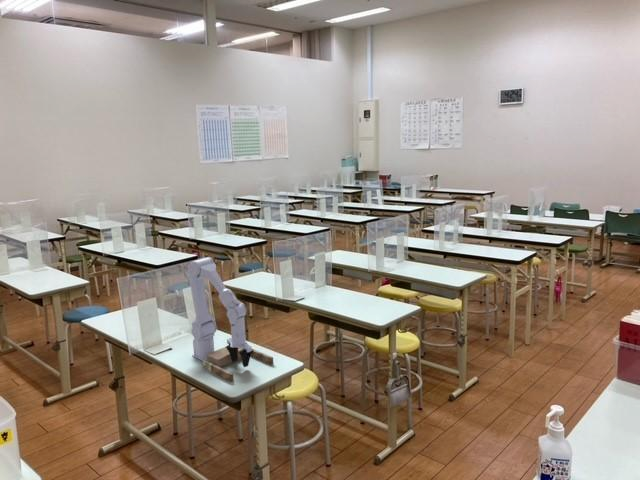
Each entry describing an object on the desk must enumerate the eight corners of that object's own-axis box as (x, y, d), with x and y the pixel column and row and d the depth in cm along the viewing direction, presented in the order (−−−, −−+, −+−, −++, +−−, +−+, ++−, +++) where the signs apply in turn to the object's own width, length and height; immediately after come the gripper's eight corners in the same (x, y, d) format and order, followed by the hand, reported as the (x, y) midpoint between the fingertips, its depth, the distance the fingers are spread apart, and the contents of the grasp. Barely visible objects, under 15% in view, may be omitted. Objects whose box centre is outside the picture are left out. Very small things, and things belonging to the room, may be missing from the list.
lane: (203, 367, 208) (202, 360, 207) (244, 351, 223) (244, 345, 222) (231, 382, 194) (230, 374, 194) (273, 364, 209) (273, 357, 209)
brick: (205, 354, 210) (206, 364, 211) (217, 359, 205) (217, 370, 206) (236, 341, 222) (236, 351, 223) (248, 346, 217) (248, 356, 218)
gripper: (220, 331, 207) (222, 362, 209) (240, 339, 197) (243, 371, 199) (233, 326, 212) (236, 356, 214) (255, 334, 202) (256, 366, 204)
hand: (240, 363), depth 207 cm, fingers open, 7 cm apart
